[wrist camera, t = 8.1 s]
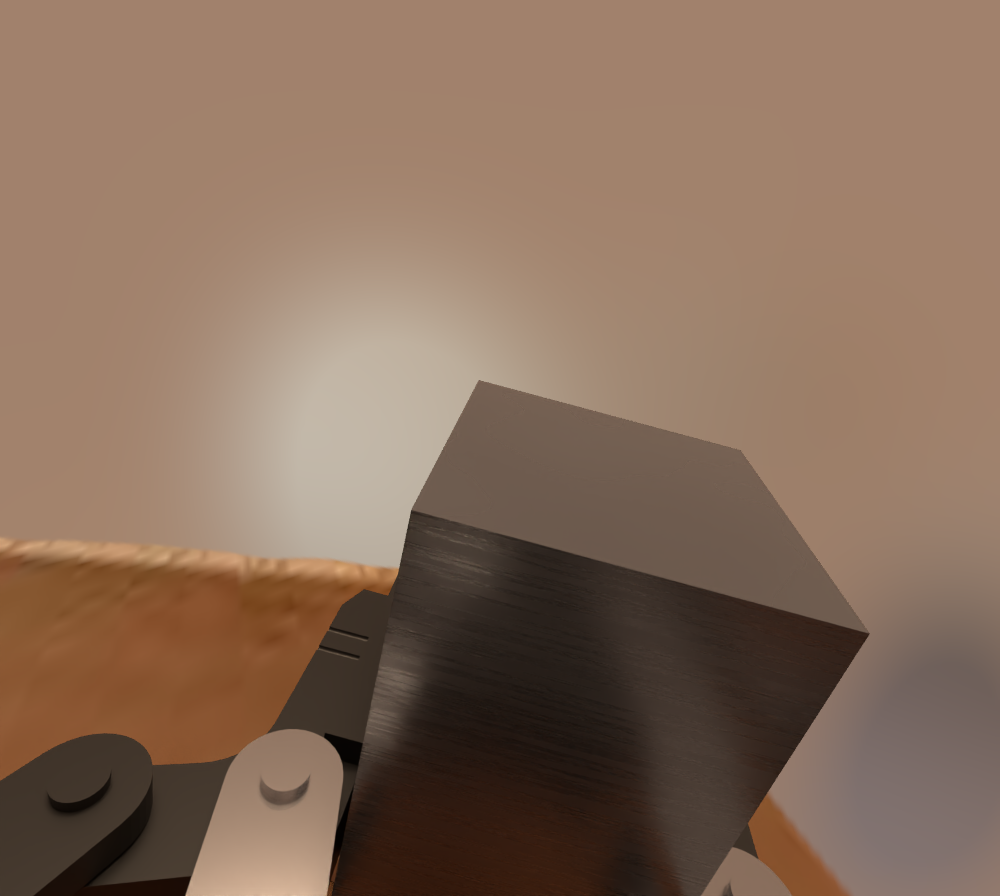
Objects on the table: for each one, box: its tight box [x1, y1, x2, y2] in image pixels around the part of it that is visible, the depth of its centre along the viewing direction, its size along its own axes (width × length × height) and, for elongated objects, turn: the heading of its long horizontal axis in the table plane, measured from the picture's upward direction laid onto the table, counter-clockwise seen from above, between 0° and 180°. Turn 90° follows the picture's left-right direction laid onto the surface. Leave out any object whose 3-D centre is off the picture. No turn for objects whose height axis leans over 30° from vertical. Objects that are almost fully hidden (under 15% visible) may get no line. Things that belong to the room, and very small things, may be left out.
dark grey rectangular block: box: [332, 380, 869, 896], centre depth 8 cm, size 4×4×12 cm
